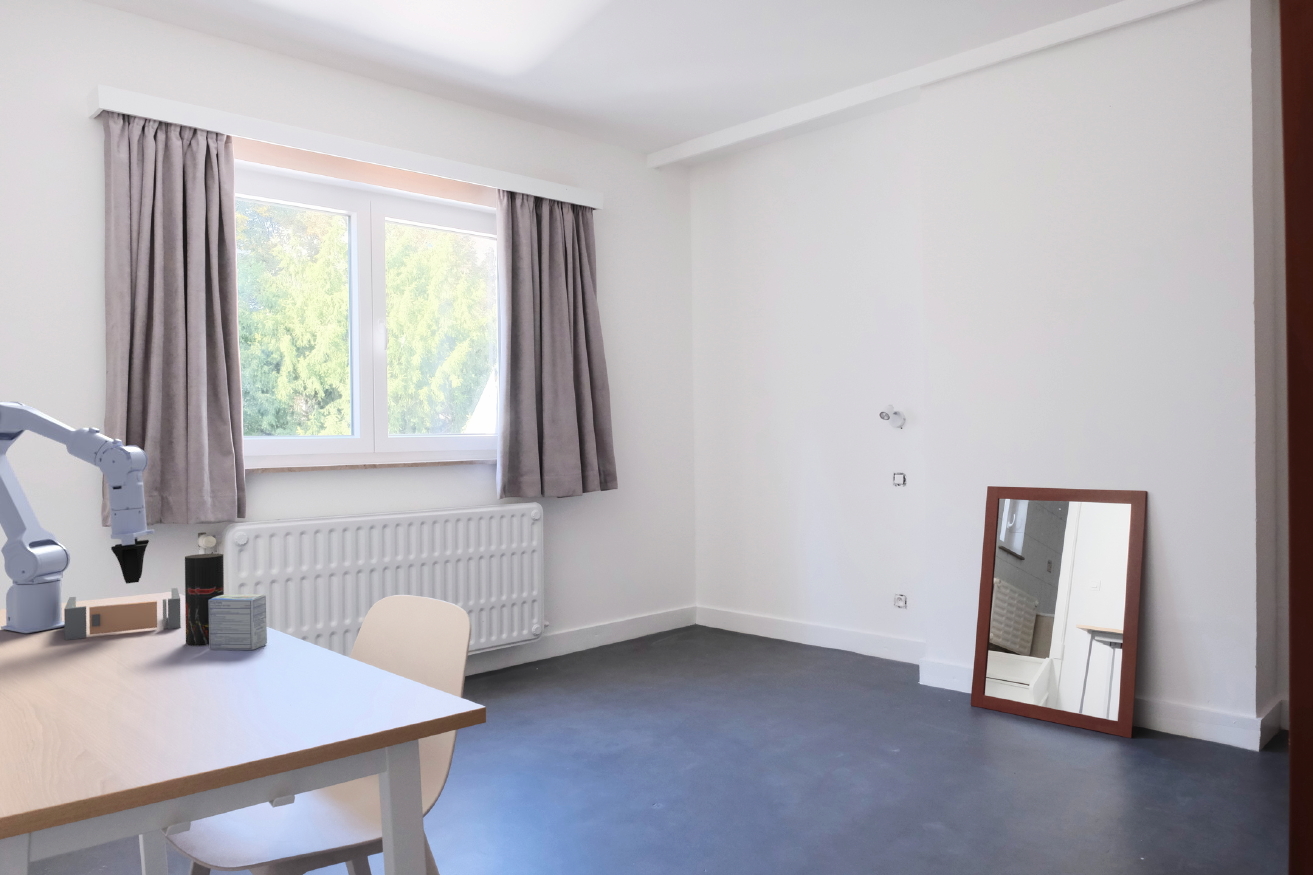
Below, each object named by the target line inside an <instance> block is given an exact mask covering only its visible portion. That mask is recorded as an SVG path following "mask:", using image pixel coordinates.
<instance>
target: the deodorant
mask: <svg viewBox="0 0 1313 875" xmlns="http://www.w3.org/2000/svg"><path fill="white" fill-rule="evenodd" d="M224 569H225V568H224V554H223V553H199V554H190V555H186V556H184V594H185V595H184V596H185V597H184V603H185V607H184V608H185V645H186V646H188V647H203V646H209V599H212V598H214V597H217V596H220V595H225V592H224V591H225V587H224V584H225V582H224V580H225V579H224V574H225V573H224V571H225V570H224Z"/></svg>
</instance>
